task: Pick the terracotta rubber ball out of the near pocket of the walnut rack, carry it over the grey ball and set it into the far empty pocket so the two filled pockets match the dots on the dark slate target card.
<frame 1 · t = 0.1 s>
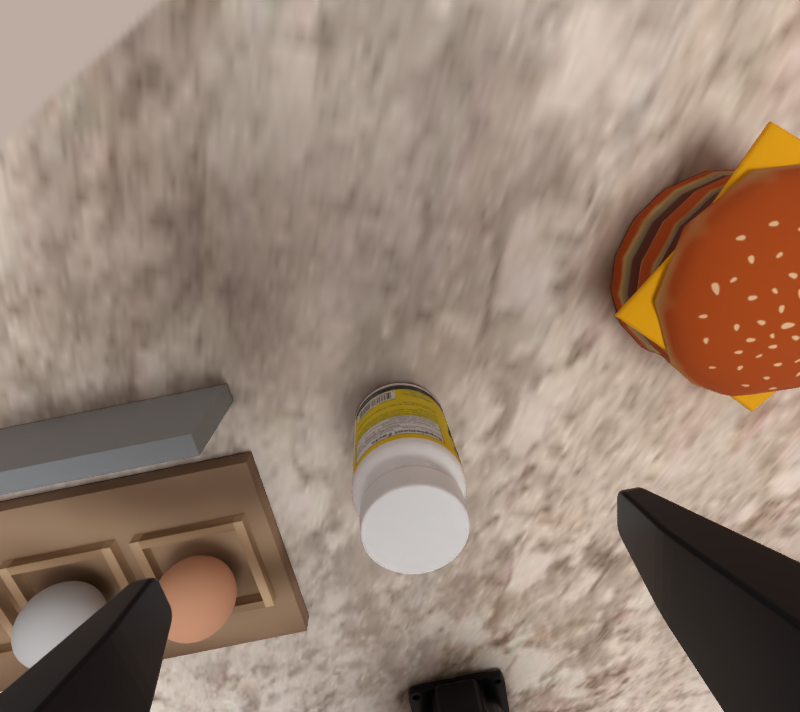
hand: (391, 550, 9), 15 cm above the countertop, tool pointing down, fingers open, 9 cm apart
hamburger: (697, 267, 23), on the countertop
grey ball: (84, 592, 26), point 1 cm above the countertop, touching rack
target card: (15, 435, 23), on the countertop
rack: (94, 577, 27), on the countertop
supplement bottle: (399, 419, 25), on the countertop
terracotta ball: (208, 567, 26), point 1 cm above the countertop, touching rack
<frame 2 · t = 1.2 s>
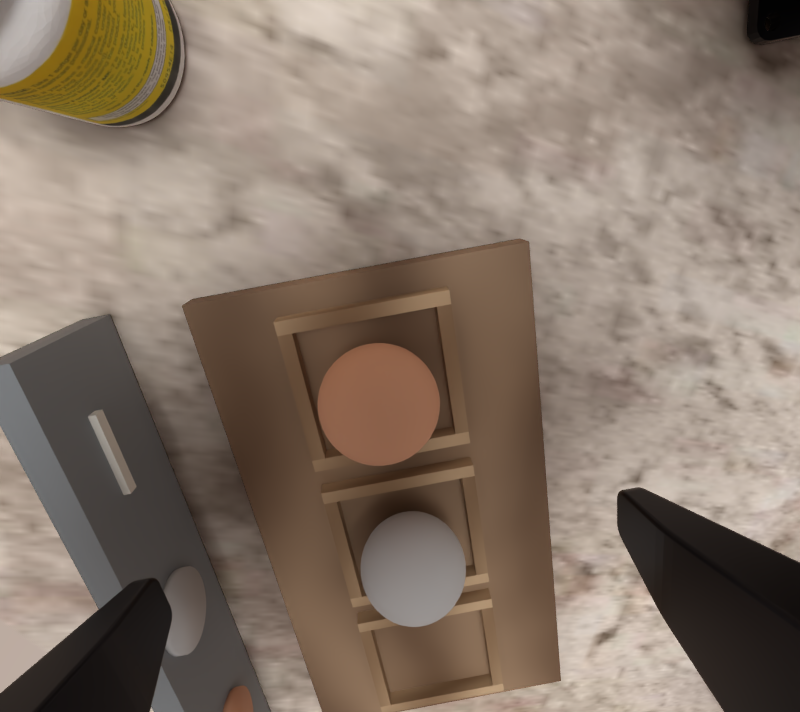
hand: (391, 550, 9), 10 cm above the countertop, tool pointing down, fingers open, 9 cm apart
grey ball: (408, 530, 20), point 1 cm above the countertop, touching rack
target card: (195, 554, 20), on the countertop
rack: (406, 514, 20), on the countertop
supplement bottle: (109, 43, 14), on the countertop
terracotta ball: (377, 380, 17), point 1 cm above the countertop, touching rack
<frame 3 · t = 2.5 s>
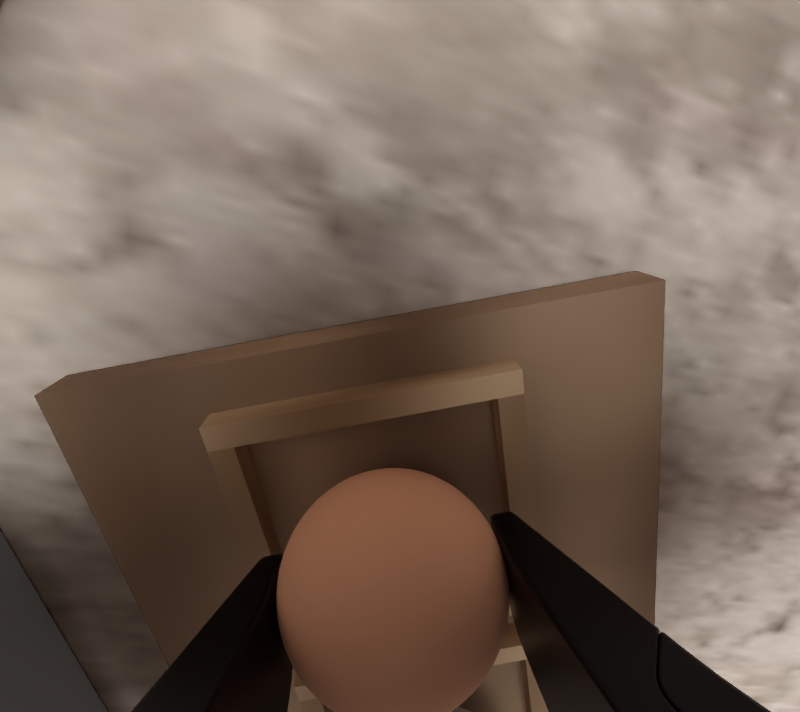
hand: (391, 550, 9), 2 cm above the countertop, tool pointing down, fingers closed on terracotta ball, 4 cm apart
rack: (429, 682, 13), on the countertop
terracotta ball: (388, 510, 10), point 1 cm above the countertop, touching gripper, rack
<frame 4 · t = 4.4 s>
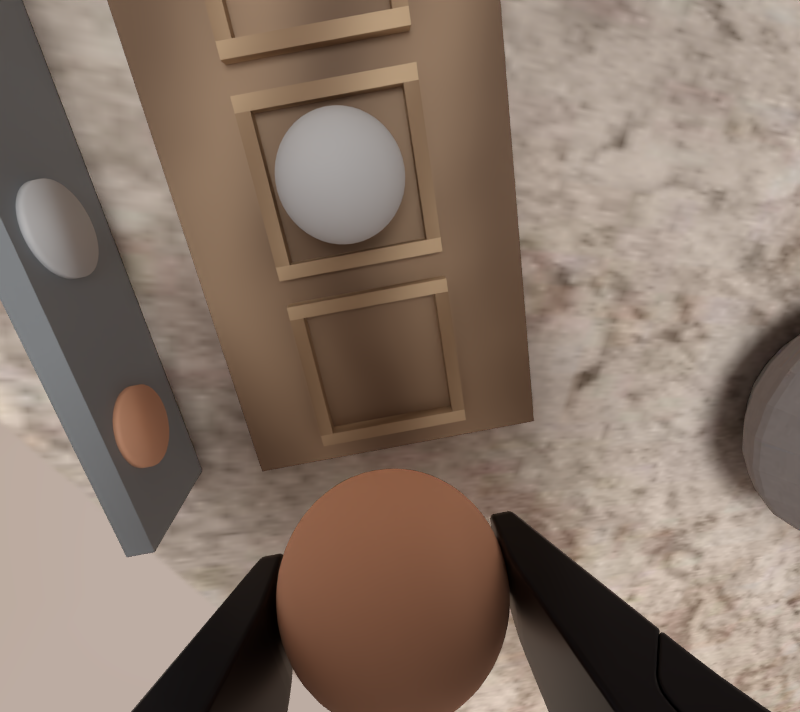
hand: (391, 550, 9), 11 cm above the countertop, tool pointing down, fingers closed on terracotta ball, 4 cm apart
grey ball: (344, 179, 16), point 1 cm above the countertop, touching rack
target card: (94, 226, 17), on the countertop
rack: (345, 179, 17), on the countertop
terracotta ball: (388, 510, 10), point 10 cm above the countertop, touching gripper
when the fingers open (4 cm above the countertop, at t = 6.1 s): terracotta ball drops 1 cm, resting on rack.
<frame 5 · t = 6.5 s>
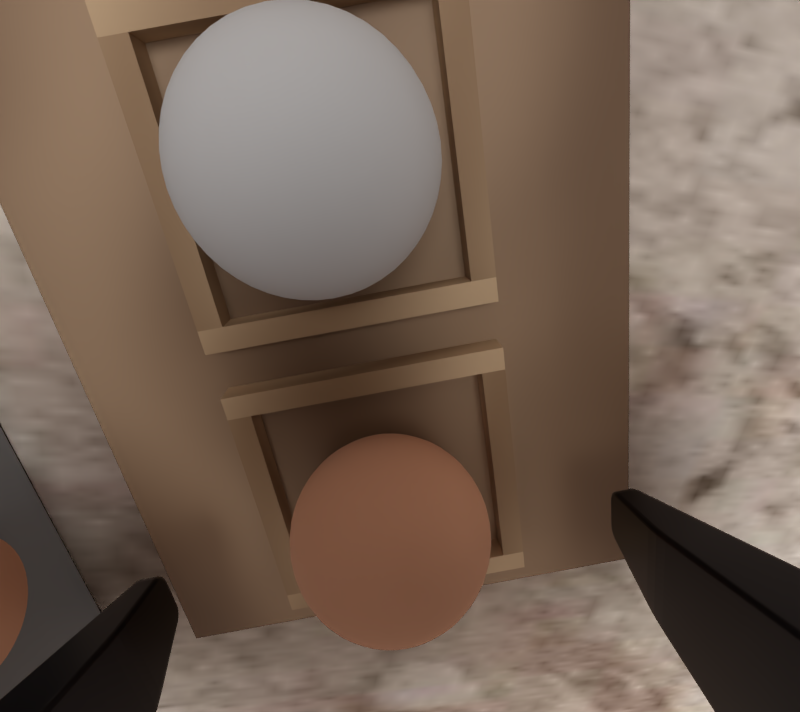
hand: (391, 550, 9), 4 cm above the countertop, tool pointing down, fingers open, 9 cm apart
grey ball: (321, 171, 9), point 1 cm above the countertop, touching rack
rack: (325, 172, 10), on the countertop
terracotta ball: (386, 475, 11), point 1 cm above the countertop, touching rack
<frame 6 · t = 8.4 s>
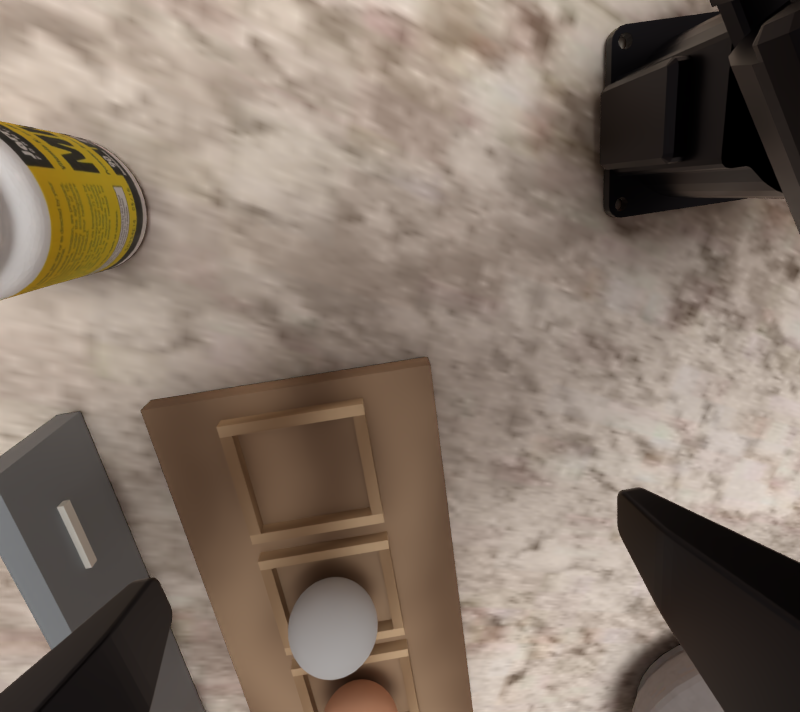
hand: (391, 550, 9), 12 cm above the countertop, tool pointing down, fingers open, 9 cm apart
grey ball: (335, 590, 23), point 1 cm above the countertop, touching rack
target card: (150, 606, 23), on the countertop
rack: (336, 574, 24), on the countertop
supplement bottle: (85, 205, 17), on the countertop
terracotta ball: (359, 687, 25), point 1 cm above the countertop, touching rack
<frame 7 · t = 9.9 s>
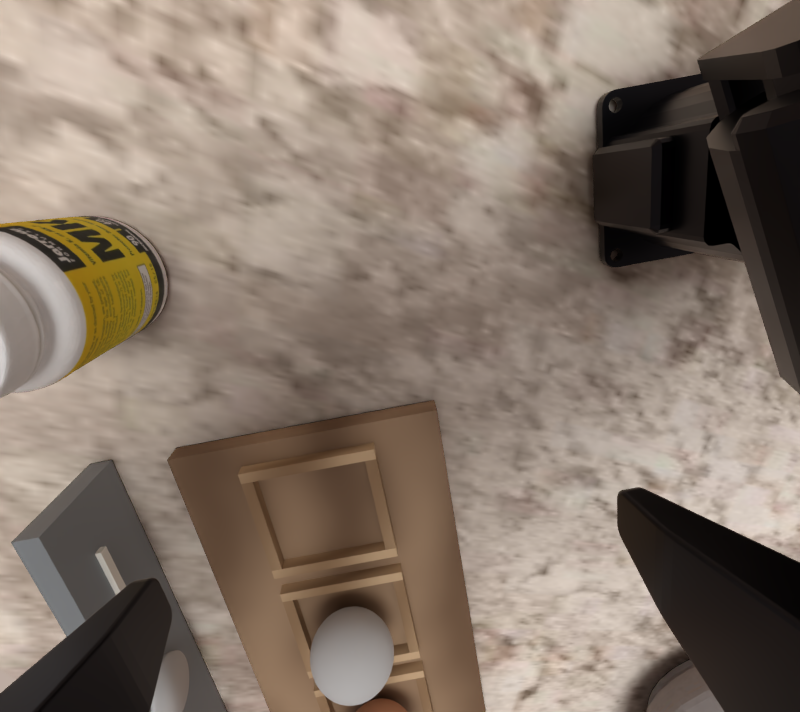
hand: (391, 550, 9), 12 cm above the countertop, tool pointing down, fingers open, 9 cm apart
grey ball: (353, 617, 24), point 1 cm above the countertop, touching rack
target card: (181, 633, 25), on the countertop
rack: (354, 601, 25), on the countertop
supplement bottle: (111, 275, 19), on the countertop
terracotta ball: (378, 705, 27), point 1 cm above the countertop, touching rack
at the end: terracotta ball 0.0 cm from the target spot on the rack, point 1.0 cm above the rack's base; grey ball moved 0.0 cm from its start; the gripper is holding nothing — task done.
